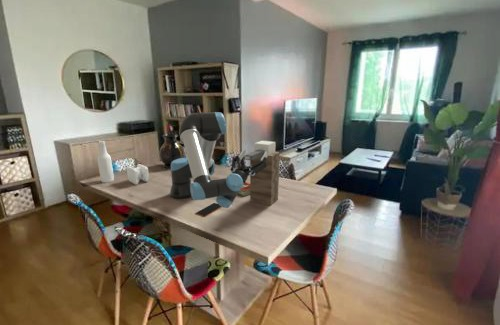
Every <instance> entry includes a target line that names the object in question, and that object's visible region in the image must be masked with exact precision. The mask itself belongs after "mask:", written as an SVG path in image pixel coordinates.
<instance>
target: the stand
mask: <svg viewBox="0 0 500 325" xmlns="http://www.w3.org/2000/svg"><path fill="white" fill-rule="evenodd" d="M262 157H263V156H261V157H258V158H256V159H254V160H249V166H252V165H254V164H256V163H258V162H260V161H261V158H262ZM266 159H267V160H266V164H267V167H265V168H264V169H263V170H261V171H260V172H258V173H257V174H256V175H255V176H254V177H252V175H249V180H250V183H249V184H250V194H249V195H250V196H249V197H250V198H249V199H250V202H255V203H258V204H263V205H267V206H272V205H273V204H275V203H276V202H277V201H278V200H279V183H280V182H279V180H280V177H279V176H280V152H279V151H275V152H274V153H272V154H270V155H268V156H267V158H266ZM249 170H251V169H250V168H249Z"/></svg>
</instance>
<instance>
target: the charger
mask: <svg viewBox="0 0 500 325" xmlns="http://www.w3.org/2000/svg"><path fill="white" fill-rule="evenodd" d="M265 152H267V154H268V155H270V154H272V153H274V152H276V141H270V140H260V141H257V142H255V143H254V151H252V152H248V153H245V155H244V159H245V160H247V161H250V160H254V159H256V158H258V157H261V156H263V155H264V153H265Z"/></svg>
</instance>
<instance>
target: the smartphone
mask: <svg viewBox="0 0 500 325" xmlns="http://www.w3.org/2000/svg"><path fill="white" fill-rule="evenodd" d="M222 208H223V207H221V206H220V205H219V204H218V203H217V202H213V203H211V204H209V205H208V206H205V207H203V208H202V209H201V210H198V211H196V212H195V213H194V214H195V215H197V216H200V217H202V218H206V217H207V216H209V215H211V214H212V213H215V212H216V211H218V210H220V209H222Z"/></svg>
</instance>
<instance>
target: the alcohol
mask: <svg viewBox="0 0 500 325" xmlns="http://www.w3.org/2000/svg"><path fill="white" fill-rule="evenodd" d="M98 147H99V153H98V155H97V159H96V160H97V166H98V171H99V178H100V181H101V182H102V183H103V184H105V183H111V182H114V181H115V176H114V170H113V169H114V168H113V162H112V157H111V155H110V154H109V153H108V151H107V150H108V149H107V146H106V141H105V140H99V141H98Z"/></svg>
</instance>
